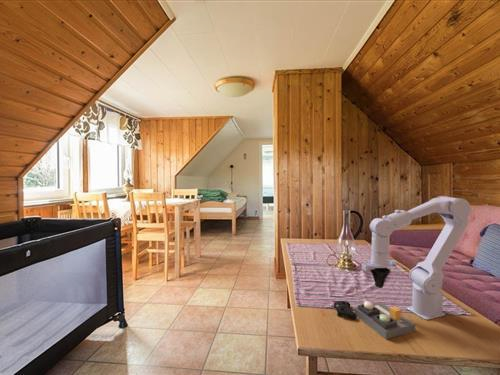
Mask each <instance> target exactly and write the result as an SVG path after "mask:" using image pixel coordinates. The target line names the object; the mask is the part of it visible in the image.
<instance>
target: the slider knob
mask: <svg viewBox="0 0 500 375" xmlns="http://www.w3.org/2000/svg"><path fill="white" fill-rule="evenodd" d="M389 308H390V313H389V316H390V317H392V318H393V319H395V320H397V319H401V316H402V309H400V308H399V307H397V306H390V307H389Z"/></svg>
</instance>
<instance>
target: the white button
mask: <svg viewBox="0 0 500 375" xmlns="http://www.w3.org/2000/svg"><path fill="white" fill-rule="evenodd" d="M363 304H364V308H365V309H366V310H370V311H371V310H373V304H374V303H373V302H372V301H369V300H365V301H363Z"/></svg>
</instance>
